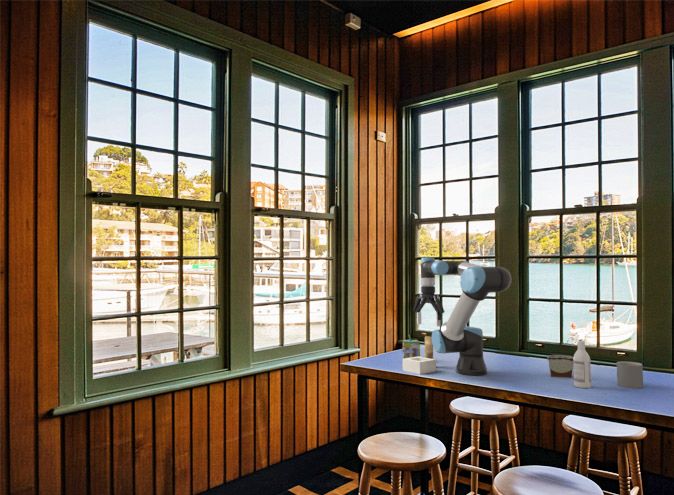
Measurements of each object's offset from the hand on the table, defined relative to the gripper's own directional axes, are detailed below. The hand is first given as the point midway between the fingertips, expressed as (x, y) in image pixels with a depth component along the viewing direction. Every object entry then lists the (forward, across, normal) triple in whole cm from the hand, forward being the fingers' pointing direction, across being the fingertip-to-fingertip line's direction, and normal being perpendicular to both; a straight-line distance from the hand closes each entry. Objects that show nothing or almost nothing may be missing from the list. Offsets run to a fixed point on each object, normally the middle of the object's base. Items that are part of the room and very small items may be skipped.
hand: (428, 325), depth 261 cm
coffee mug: (+22, -84, -40) cm, 96 cm away
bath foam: (+22, -72, -20) cm, 78 cm away
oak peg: (+22, 0, 0) cm, 22 cm away
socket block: (+22, -4, +12) cm, 26 cm away
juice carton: (+22, +19, -6) cm, 30 cm away
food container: (+22, -55, -33) cm, 68 cm away
